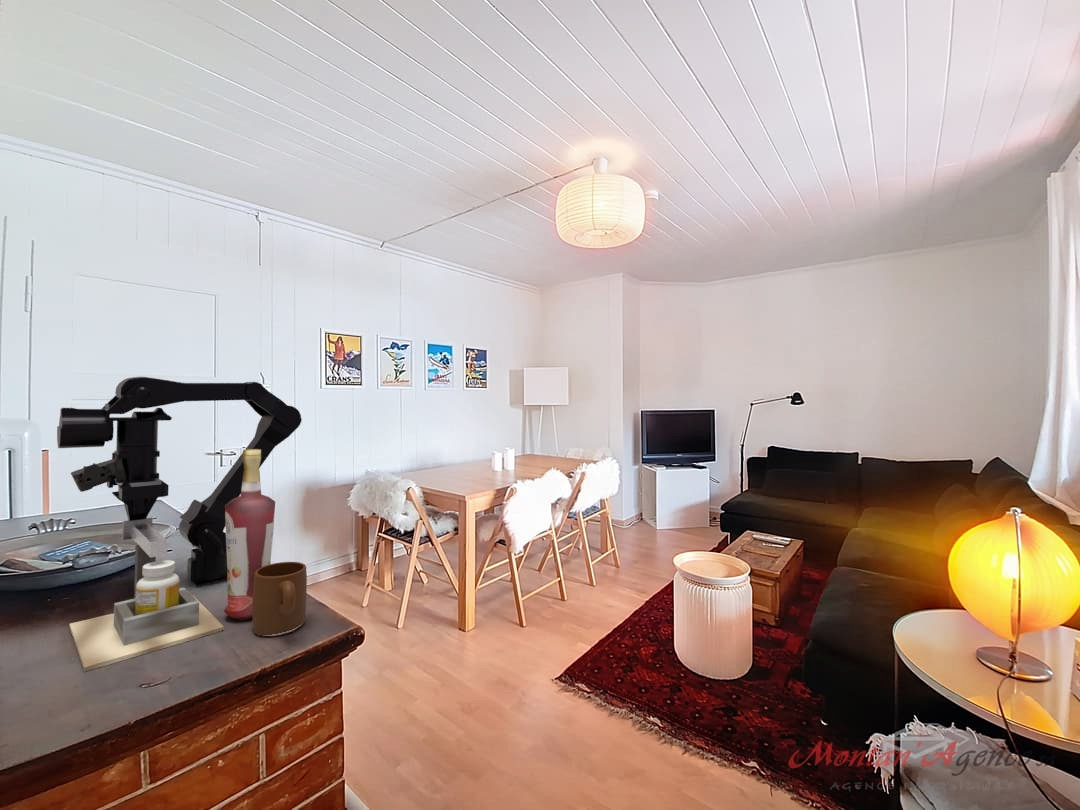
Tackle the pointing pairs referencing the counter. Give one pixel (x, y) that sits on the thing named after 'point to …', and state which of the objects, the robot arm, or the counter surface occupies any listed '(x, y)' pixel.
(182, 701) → the counter surface
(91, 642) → the socket board
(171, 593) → the supplement bottle
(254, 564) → the liquor
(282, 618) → the mug
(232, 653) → the counter surface
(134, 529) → the keeper bolt
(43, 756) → the counter surface
